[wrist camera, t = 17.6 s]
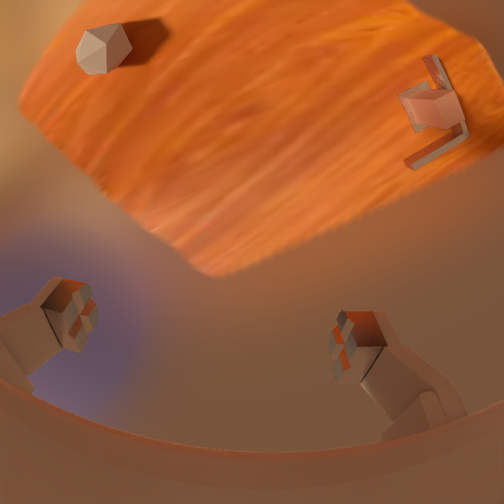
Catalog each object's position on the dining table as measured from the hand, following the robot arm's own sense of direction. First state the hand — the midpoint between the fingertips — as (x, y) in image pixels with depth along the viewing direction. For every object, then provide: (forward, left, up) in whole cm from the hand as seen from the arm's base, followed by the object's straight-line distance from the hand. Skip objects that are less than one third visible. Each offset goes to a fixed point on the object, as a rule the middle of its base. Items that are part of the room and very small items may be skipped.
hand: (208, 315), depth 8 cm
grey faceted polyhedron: (-16, -22, -34) cm, 44 cm away
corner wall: (-12, +27, -34) cm, 45 cm away
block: (-12, +27, -34) cm, 45 cm away
